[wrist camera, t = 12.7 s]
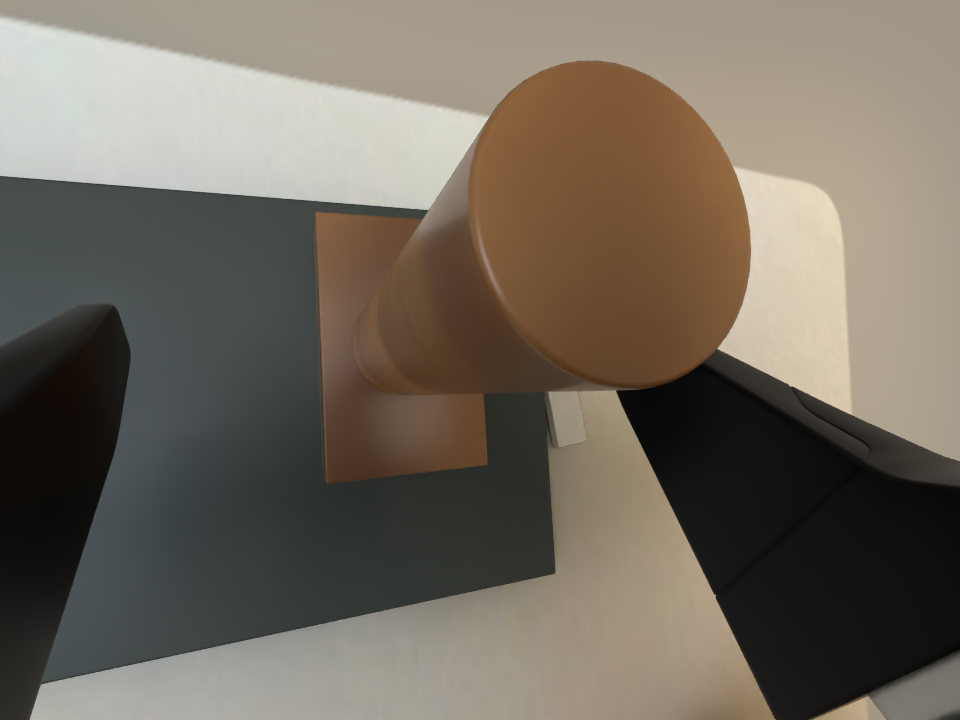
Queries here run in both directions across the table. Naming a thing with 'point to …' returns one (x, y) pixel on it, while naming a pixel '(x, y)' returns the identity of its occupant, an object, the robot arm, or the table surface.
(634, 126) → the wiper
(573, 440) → the chalk streak
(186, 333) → the board
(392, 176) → the table surface
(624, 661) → the table surface
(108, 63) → the table surface
